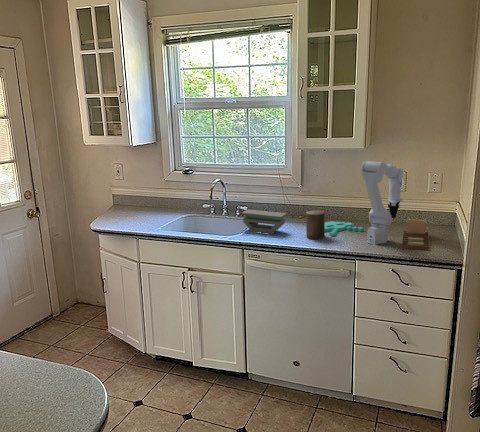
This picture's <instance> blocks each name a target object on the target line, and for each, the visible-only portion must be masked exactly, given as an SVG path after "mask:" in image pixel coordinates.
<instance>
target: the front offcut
mask: <svg viewBox="0 0 480 432" xmlns="http://www.w3.org/2000/svg"><path fill="white" fill-rule="evenodd" d="M408 245H418V246H423V245H424V243H423V242H408Z"/></svg>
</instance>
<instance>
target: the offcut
mask: <svg viewBox="0 0 480 432" xmlns="http://www.w3.org/2000/svg"><path fill="white" fill-rule="evenodd" d="M408 241H422V242H423V238H410V237H408Z"/></svg>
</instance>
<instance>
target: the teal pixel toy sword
mask: <svg viewBox="0 0 480 432" xmlns="http://www.w3.org/2000/svg"><path fill="white" fill-rule="evenodd" d="M341 231H349V232H351V231H353V232H359V233H360V232H364V227H361V226H359V227H357V226H355V224H354V223H352V222H344V221H333V220H332V221H326V222H325V233H326V232H327V233H328V232H329V236H330V237H332V238H333V237H336V235H337V234H338V233H339V232H341Z"/></svg>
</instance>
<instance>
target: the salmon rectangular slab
mask: <svg viewBox="0 0 480 432" xmlns="http://www.w3.org/2000/svg"><path fill="white" fill-rule="evenodd" d="M426 224H427V220H426V219H411V218H409V219H408V218H407V219H406V230H405V231H406V233H421V234H425V232H426Z"/></svg>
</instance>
